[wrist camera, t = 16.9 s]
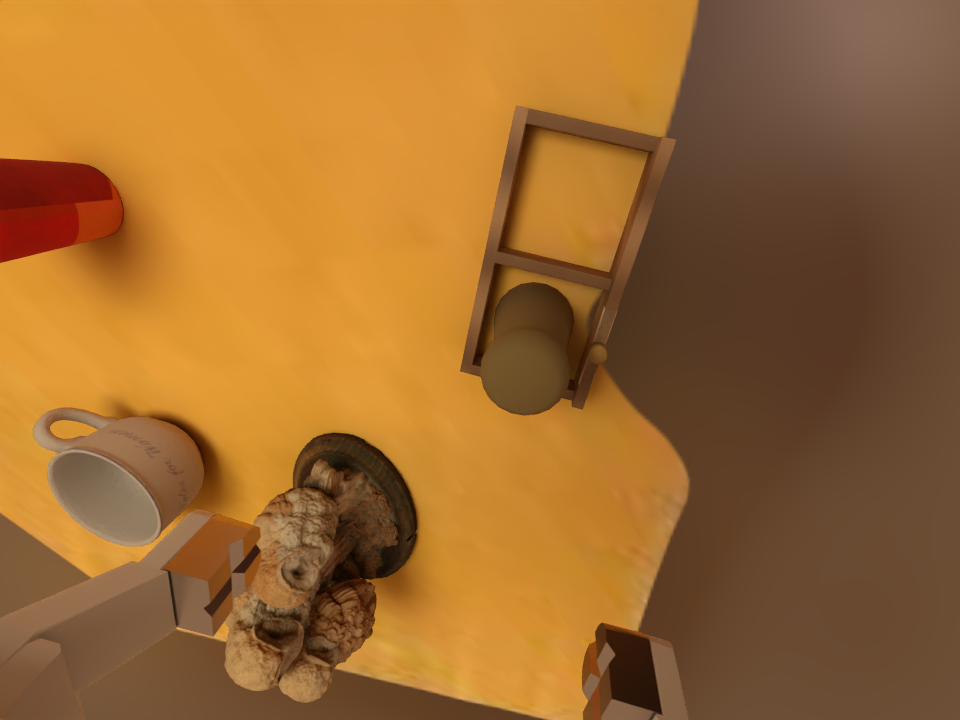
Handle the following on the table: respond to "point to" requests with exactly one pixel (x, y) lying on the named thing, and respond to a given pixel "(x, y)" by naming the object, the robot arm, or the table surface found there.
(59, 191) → the paper cup
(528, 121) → the wooden divided frame
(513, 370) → the cork
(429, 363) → the table surface
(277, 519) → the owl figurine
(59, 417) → the teacup
